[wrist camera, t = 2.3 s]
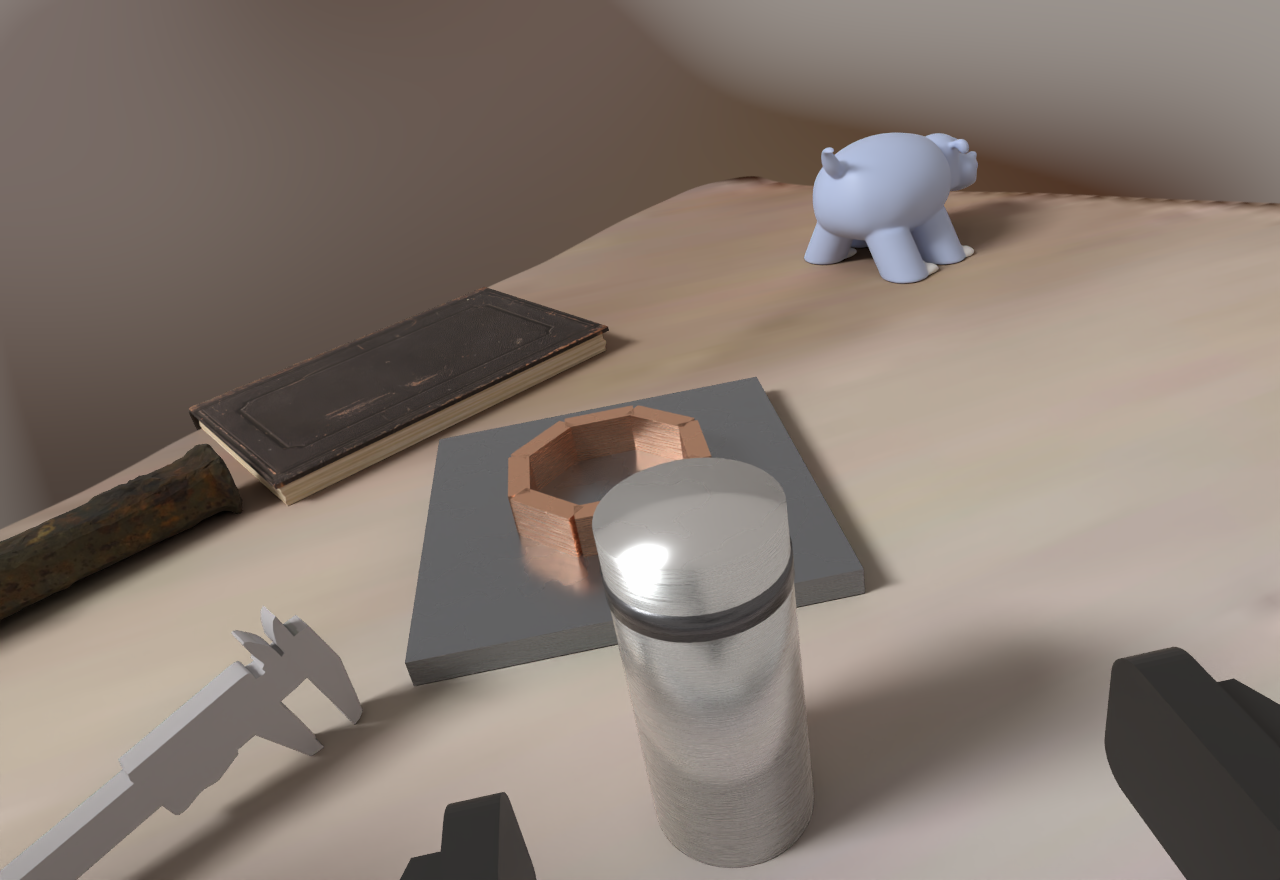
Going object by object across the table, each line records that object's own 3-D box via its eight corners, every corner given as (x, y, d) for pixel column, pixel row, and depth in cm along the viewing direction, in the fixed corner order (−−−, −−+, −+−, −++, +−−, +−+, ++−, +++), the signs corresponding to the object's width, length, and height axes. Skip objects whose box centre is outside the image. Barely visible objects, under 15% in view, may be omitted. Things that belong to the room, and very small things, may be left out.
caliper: (354, 709, 35) (299, 582, 32) (368, 722, 34) (313, 593, 31) (-329, 1189, 24) (-515, 1061, 21) (-329, 1223, 23) (-523, 1097, 20)
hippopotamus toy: (1023, 231, 68) (1029, 98, 63) (888, 299, 61) (884, 155, 56) (906, 213, 76) (904, 93, 71) (775, 271, 69) (763, 142, 64)
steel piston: (665, 885, 26) (598, 590, 21) (644, 750, 31) (583, 477, 25) (837, 848, 27) (813, 546, 21) (791, 719, 31) (761, 442, 26)
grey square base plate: (413, 685, 35) (389, 623, 34) (445, 457, 51) (429, 408, 49) (864, 593, 36) (861, 527, 34) (758, 395, 52) (753, 344, 50)
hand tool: (228, 492, 52) (196, 421, 50) (254, 515, 49) (220, 441, 47) (-166, 681, 42) (-229, 604, 40) (-162, 723, 40) (-230, 643, 37)
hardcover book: (613, 357, 61) (607, 325, 60) (288, 520, 49) (273, 484, 48) (487, 312, 72) (480, 285, 71) (199, 435, 60) (185, 405, 59)
